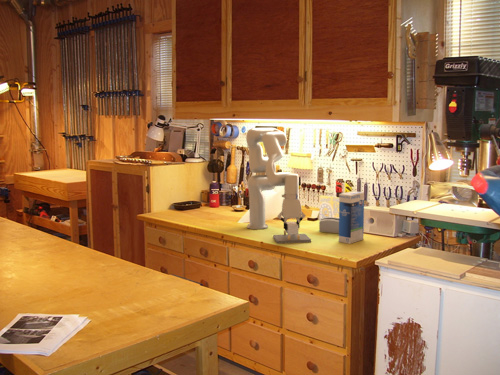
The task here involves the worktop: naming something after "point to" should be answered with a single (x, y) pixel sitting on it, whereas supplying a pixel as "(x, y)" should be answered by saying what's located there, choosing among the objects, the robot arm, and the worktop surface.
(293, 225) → the block
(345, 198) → the string lights box
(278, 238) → the gray peg board
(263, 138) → the robot arm
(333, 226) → the grey rounded block
